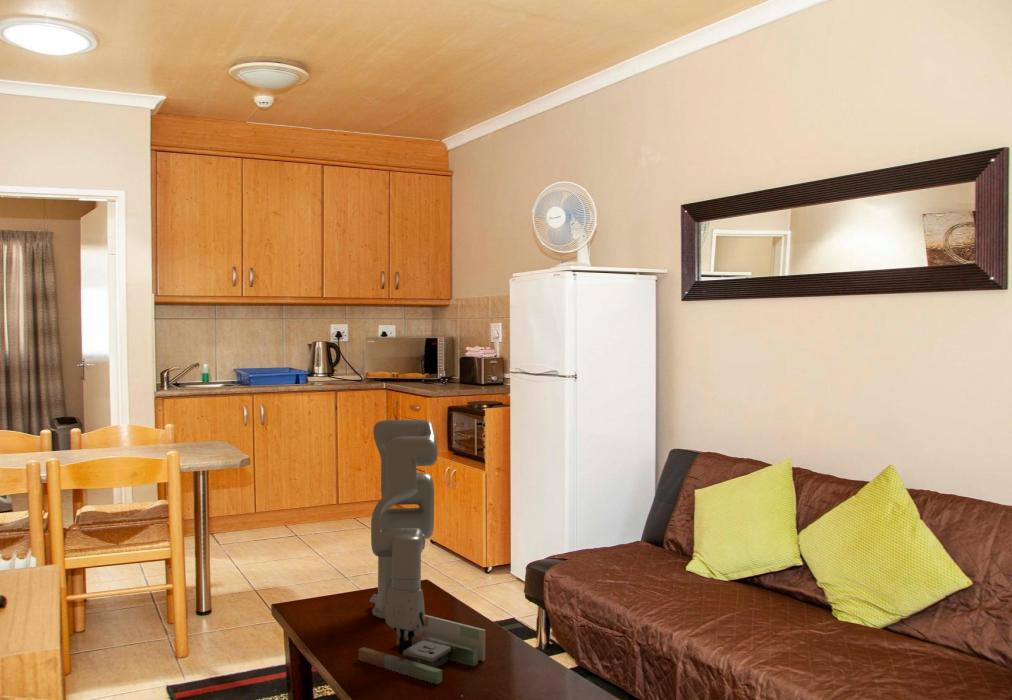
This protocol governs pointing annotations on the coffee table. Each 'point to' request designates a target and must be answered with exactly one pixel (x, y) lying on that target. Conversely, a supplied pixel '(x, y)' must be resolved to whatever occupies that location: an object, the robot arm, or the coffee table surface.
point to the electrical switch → (428, 653)
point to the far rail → (457, 650)
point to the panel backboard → (456, 633)
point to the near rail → (400, 665)
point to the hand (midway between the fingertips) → (405, 653)
